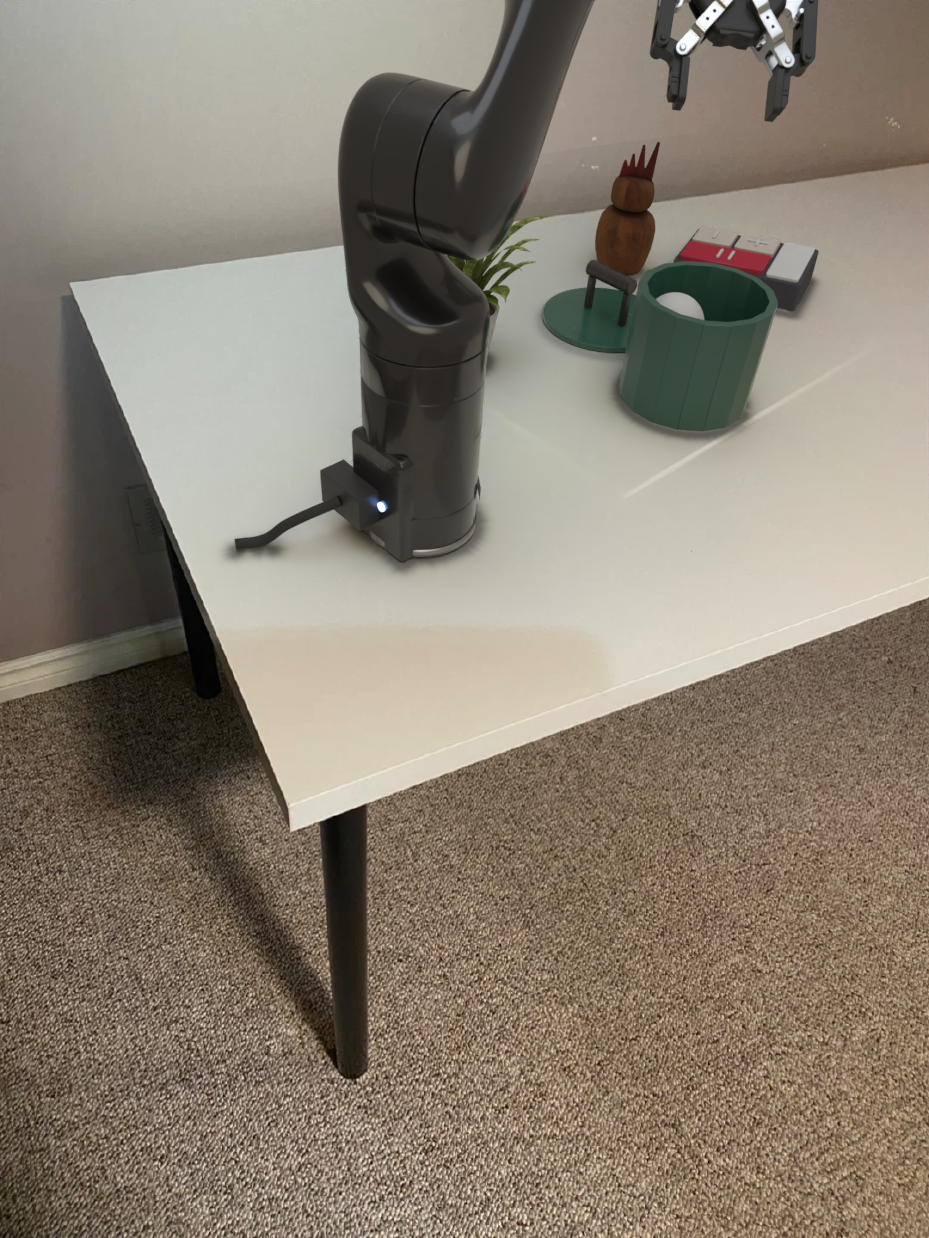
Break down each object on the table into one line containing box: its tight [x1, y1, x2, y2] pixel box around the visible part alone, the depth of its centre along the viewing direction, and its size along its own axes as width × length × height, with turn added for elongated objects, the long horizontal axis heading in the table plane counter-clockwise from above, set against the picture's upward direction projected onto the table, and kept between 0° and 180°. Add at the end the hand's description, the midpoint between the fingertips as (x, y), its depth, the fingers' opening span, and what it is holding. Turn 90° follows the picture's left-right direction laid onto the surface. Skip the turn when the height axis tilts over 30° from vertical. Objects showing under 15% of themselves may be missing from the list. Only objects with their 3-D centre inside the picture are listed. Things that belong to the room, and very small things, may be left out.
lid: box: [542, 259, 638, 354], centre depth 101 cm, size 14×14×6 cm
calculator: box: [673, 225, 820, 312], centre depth 111 cm, size 11×4×15 cm
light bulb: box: [656, 292, 704, 320], centre depth 90 cm, size 6×6×10 cm
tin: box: [618, 261, 778, 432], centre depth 89 cm, size 13×13×12 cm
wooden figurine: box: [594, 141, 661, 276], centre depth 108 cm, size 7×6×15 cm
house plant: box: [446, 216, 547, 357], centre depth 90 cm, size 14×14×16 cm
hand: (725, 112), depth 82 cm, fingers open, 8 cm apart
